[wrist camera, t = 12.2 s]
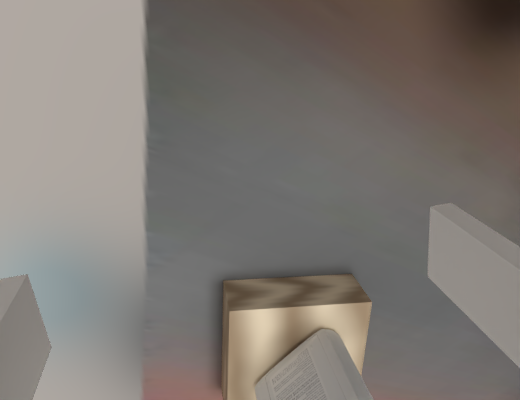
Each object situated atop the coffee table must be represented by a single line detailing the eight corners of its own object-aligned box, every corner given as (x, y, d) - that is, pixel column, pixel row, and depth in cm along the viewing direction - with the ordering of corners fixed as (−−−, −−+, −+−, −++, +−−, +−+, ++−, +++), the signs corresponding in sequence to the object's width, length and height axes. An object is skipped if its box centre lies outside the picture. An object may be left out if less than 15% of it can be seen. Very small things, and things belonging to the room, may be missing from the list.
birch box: (350, 271, 51) (372, 302, 46) (337, 374, 56) (355, 413, 50) (222, 278, 49) (229, 311, 43) (221, 385, 53) (226, 427, 48)
